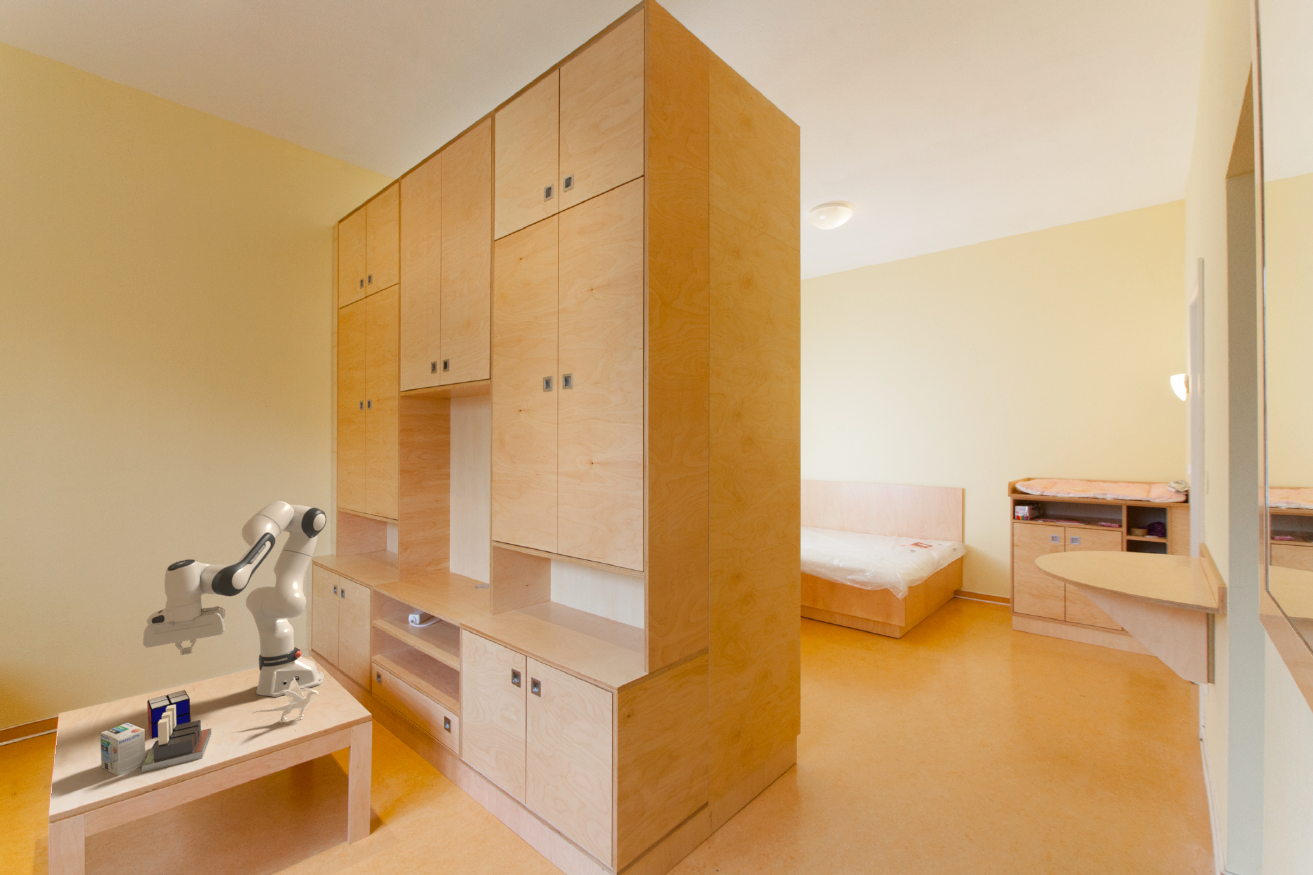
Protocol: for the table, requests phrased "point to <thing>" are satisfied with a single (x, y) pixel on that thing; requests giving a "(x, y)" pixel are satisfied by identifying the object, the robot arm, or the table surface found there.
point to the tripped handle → (169, 716)
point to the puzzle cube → (159, 707)
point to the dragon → (293, 700)
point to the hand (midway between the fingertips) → (186, 653)
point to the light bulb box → (122, 748)
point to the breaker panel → (179, 747)
